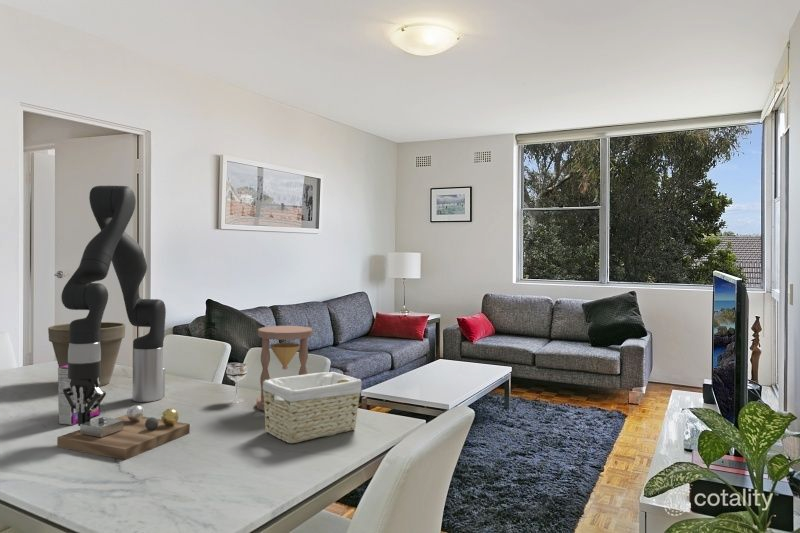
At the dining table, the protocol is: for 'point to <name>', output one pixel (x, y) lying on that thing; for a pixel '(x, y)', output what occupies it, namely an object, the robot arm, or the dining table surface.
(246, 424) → the dining table surface
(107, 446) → the walnut board
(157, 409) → the dining table surface
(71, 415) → the candy bar box
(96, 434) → the steel cover
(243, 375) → the wineglass
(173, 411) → the brass ball
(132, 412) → the steel ball
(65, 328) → the plant pot
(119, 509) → the dining table surface
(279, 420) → the storage basket
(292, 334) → the hourglass
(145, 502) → the dining table surface
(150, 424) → the black rubber ball
